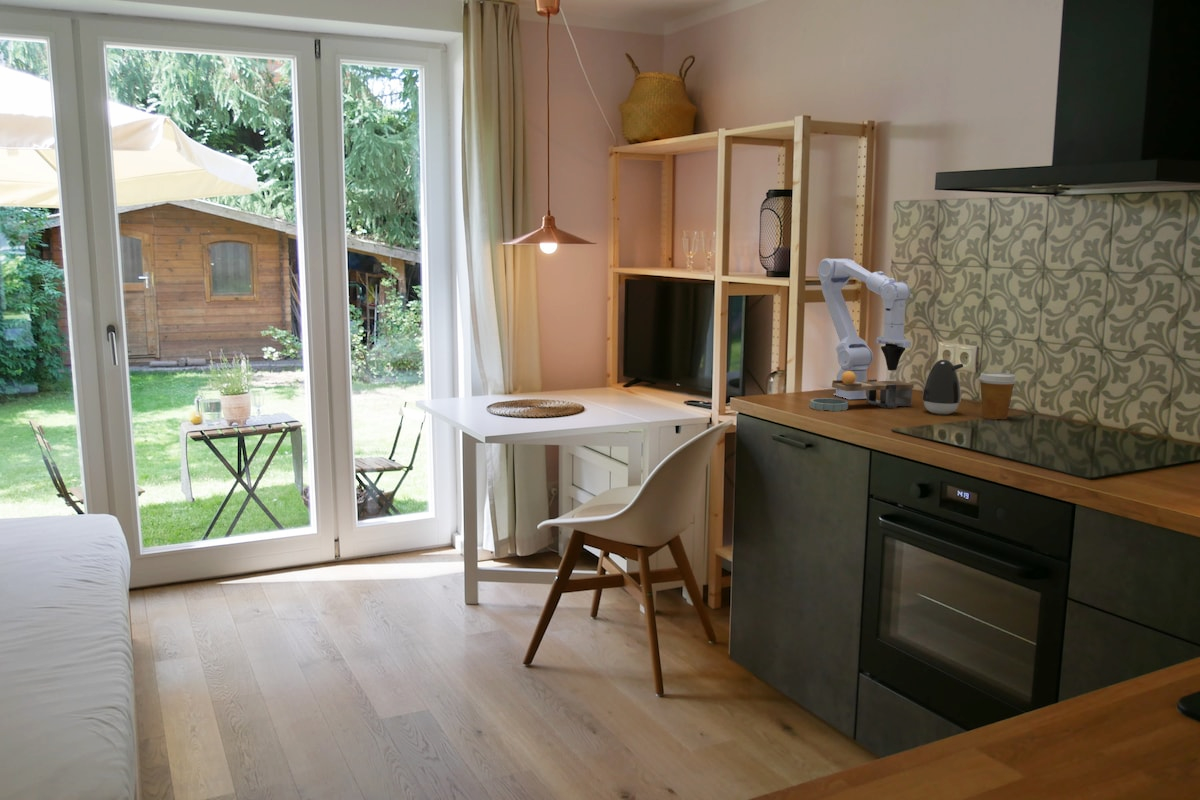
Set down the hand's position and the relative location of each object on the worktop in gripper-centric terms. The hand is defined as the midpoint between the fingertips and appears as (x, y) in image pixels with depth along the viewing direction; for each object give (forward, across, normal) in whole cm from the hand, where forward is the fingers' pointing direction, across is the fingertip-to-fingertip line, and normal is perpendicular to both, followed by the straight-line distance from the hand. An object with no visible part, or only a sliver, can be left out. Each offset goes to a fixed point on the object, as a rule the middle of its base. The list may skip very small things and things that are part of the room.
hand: (892, 370), depth 288 cm
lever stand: (+10, -1, 0) cm, 10 cm away
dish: (+10, 0, +21) cm, 23 cm away
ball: (+2, 0, +15) cm, 15 cm away
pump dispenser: (+11, -16, -6) cm, 20 cm away
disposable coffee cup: (+11, -26, -16) cm, 32 cm away
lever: (+9, -1, +7) cm, 12 cm away
